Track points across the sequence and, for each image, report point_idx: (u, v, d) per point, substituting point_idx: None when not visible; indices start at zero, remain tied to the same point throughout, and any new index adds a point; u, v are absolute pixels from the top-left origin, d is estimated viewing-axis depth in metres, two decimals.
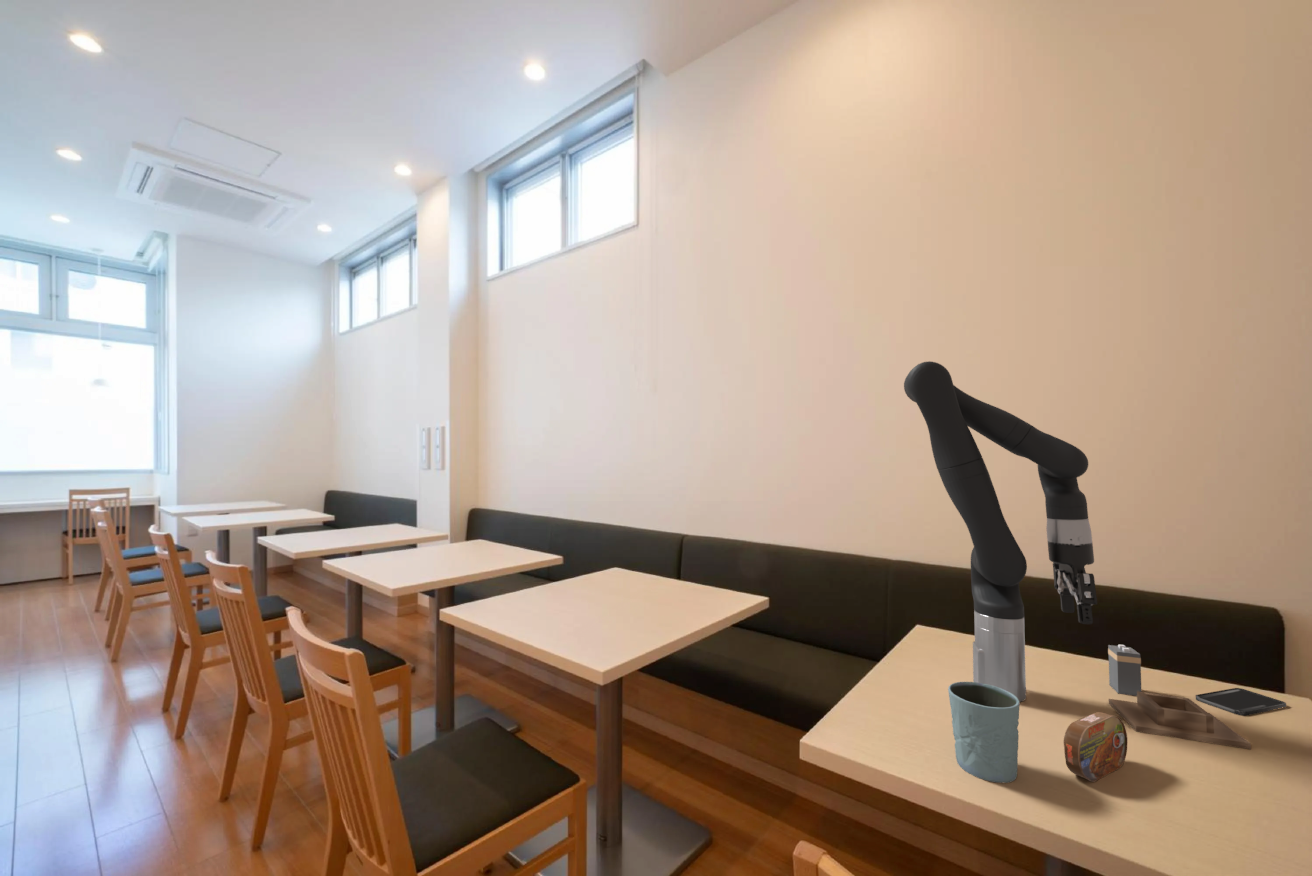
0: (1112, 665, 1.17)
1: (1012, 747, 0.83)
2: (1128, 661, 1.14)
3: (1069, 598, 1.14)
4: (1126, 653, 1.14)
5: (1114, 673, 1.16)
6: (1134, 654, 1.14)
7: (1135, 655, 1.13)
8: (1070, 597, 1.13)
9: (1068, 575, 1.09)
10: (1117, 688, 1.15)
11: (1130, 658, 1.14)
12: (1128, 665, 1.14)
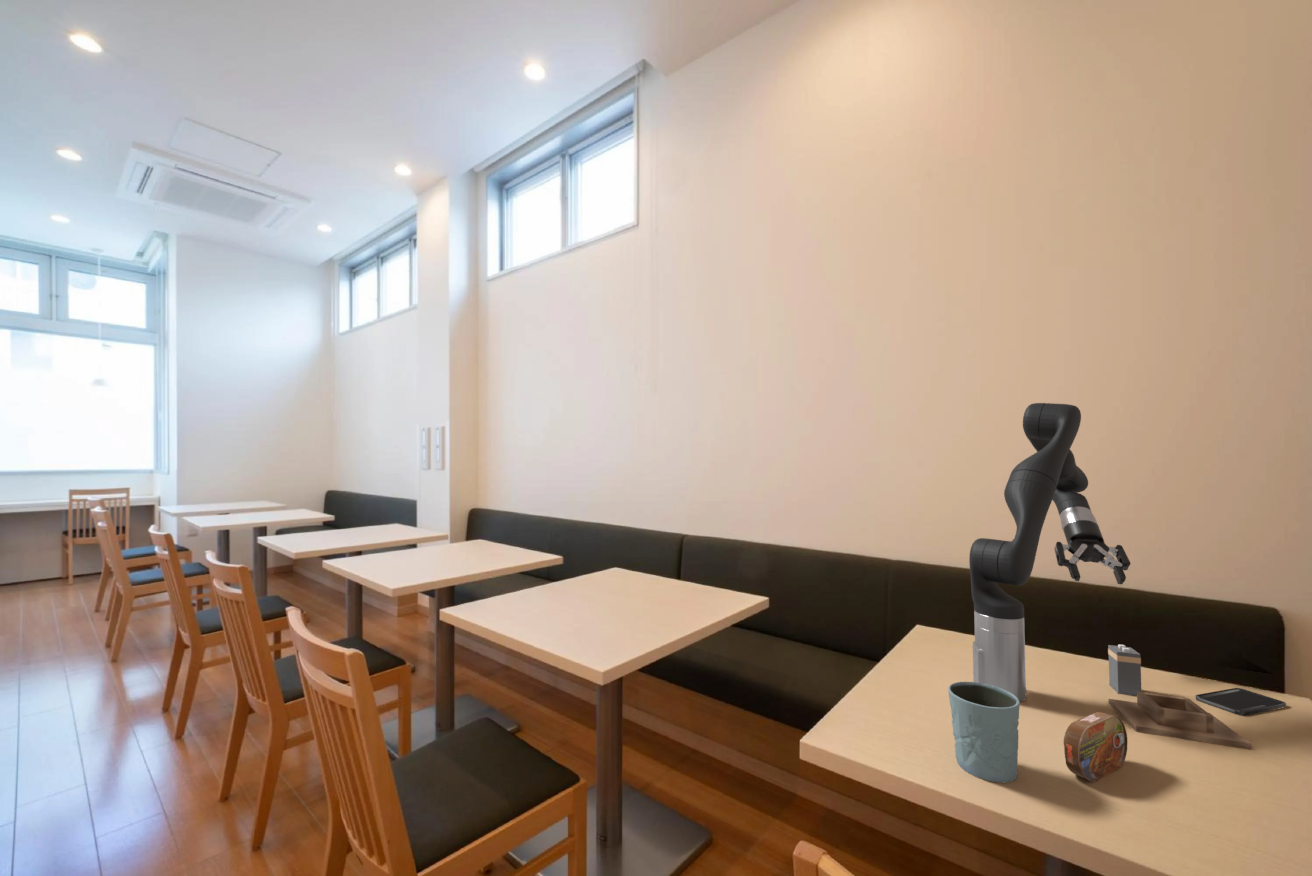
0: (1112, 665, 1.17)
1: (1012, 747, 0.83)
2: (1128, 661, 1.14)
3: None
4: (1126, 653, 1.14)
5: (1114, 673, 1.16)
6: (1134, 654, 1.14)
7: (1135, 655, 1.13)
8: None
9: None
10: (1117, 688, 1.15)
11: (1130, 658, 1.14)
12: (1128, 665, 1.14)
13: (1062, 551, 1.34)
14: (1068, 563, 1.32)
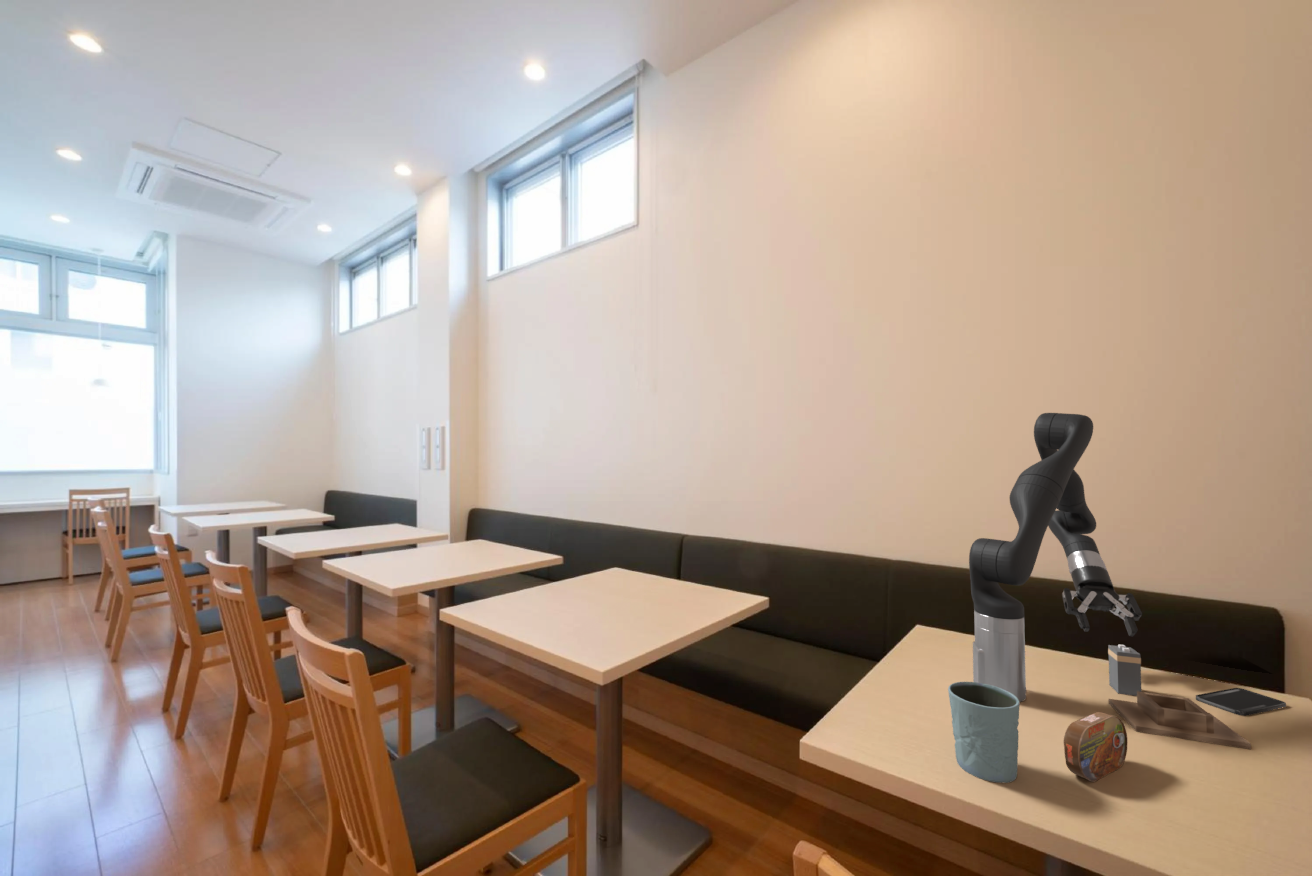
0: (1112, 665, 1.17)
1: (1012, 747, 0.83)
2: (1128, 661, 1.14)
3: None
4: (1126, 653, 1.14)
5: (1114, 673, 1.16)
6: (1134, 654, 1.13)
7: (1135, 655, 1.13)
8: None
9: None
10: (1117, 688, 1.15)
11: (1130, 658, 1.14)
12: (1128, 665, 1.14)
13: (1070, 598, 1.29)
14: (1077, 612, 1.27)
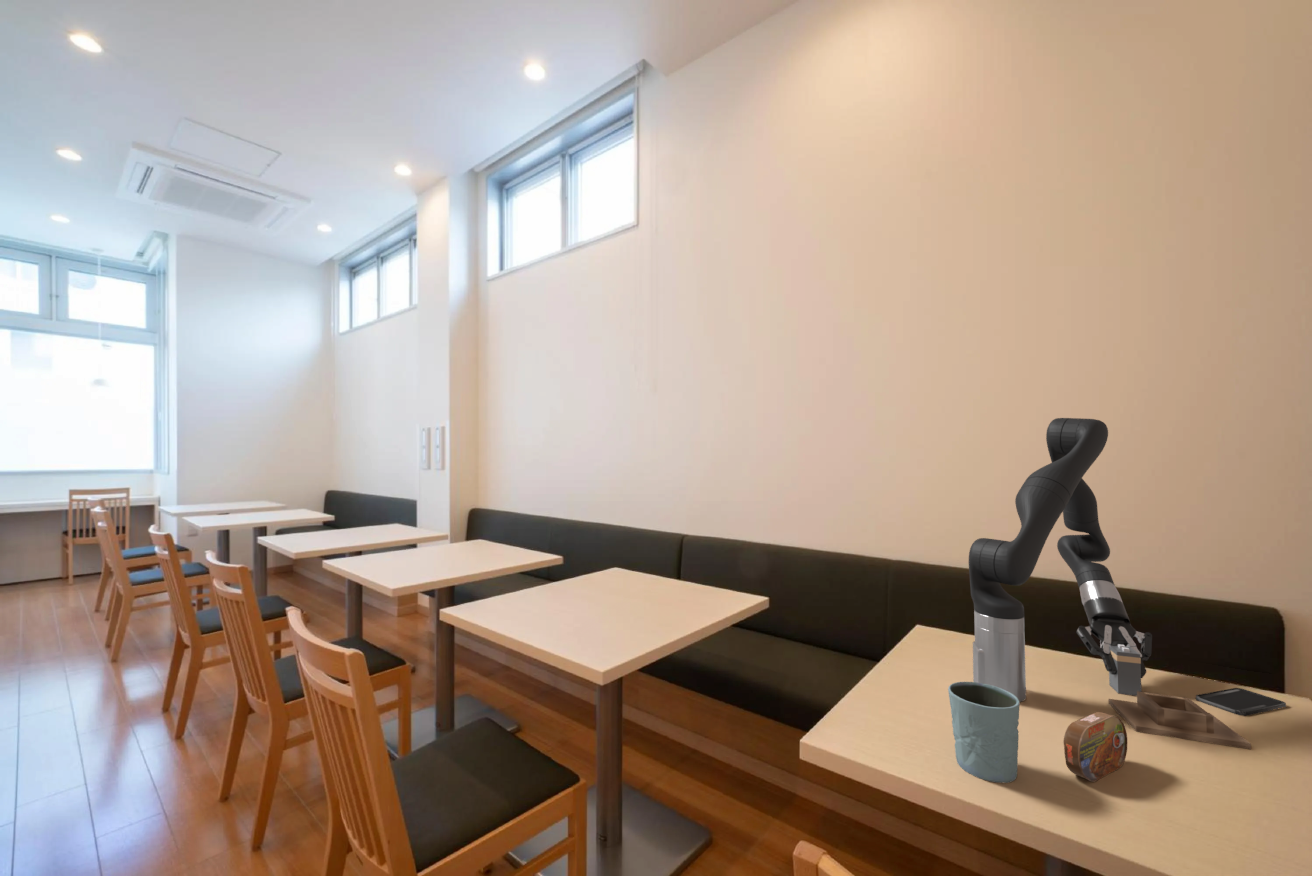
0: None
1: (1012, 747, 0.83)
2: (1128, 660, 1.14)
3: None
4: (1126, 653, 1.14)
5: None
6: (1134, 654, 1.14)
7: (1135, 655, 1.13)
8: None
9: None
10: (1117, 688, 1.15)
11: (1130, 658, 1.14)
12: (1128, 665, 1.14)
13: (1090, 637, 1.20)
14: (1104, 654, 1.18)
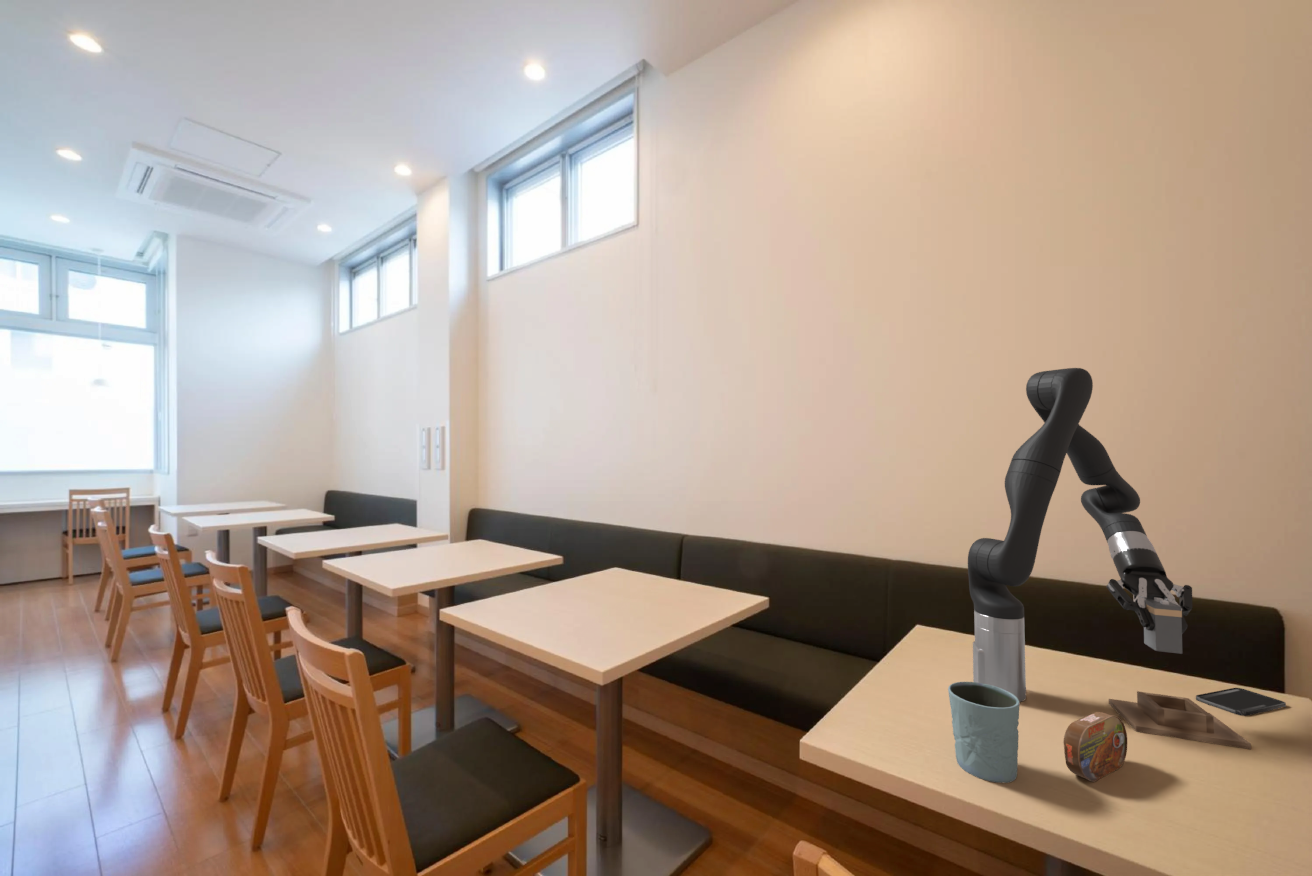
0: None
1: (1012, 747, 0.83)
2: (1168, 614, 1.02)
3: None
4: (1165, 606, 1.02)
5: None
6: (1174, 606, 1.02)
7: (1175, 608, 1.01)
8: None
9: None
10: (1154, 645, 1.03)
11: (1169, 611, 1.02)
12: (1167, 619, 1.02)
13: (1123, 591, 1.08)
14: (1139, 608, 1.06)
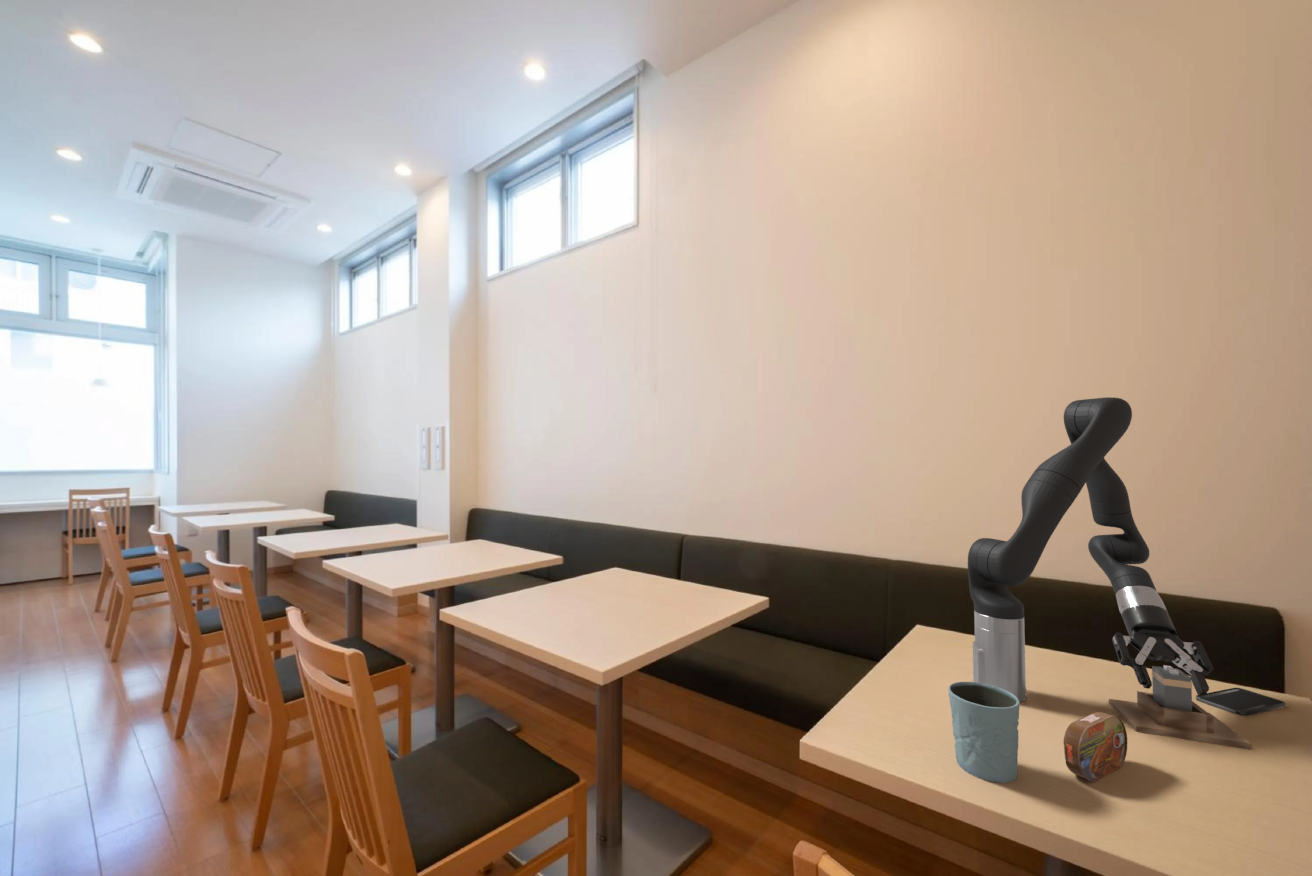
0: (1157, 689, 1.03)
1: (1012, 747, 0.83)
2: (1177, 685, 0.99)
3: None
4: (1174, 676, 1.00)
5: (1160, 698, 1.01)
6: (1184, 677, 0.99)
7: (1185, 678, 0.99)
8: None
9: None
10: None
11: (1179, 682, 0.99)
12: (1177, 690, 0.99)
13: (1124, 646, 1.07)
14: (1134, 664, 1.05)
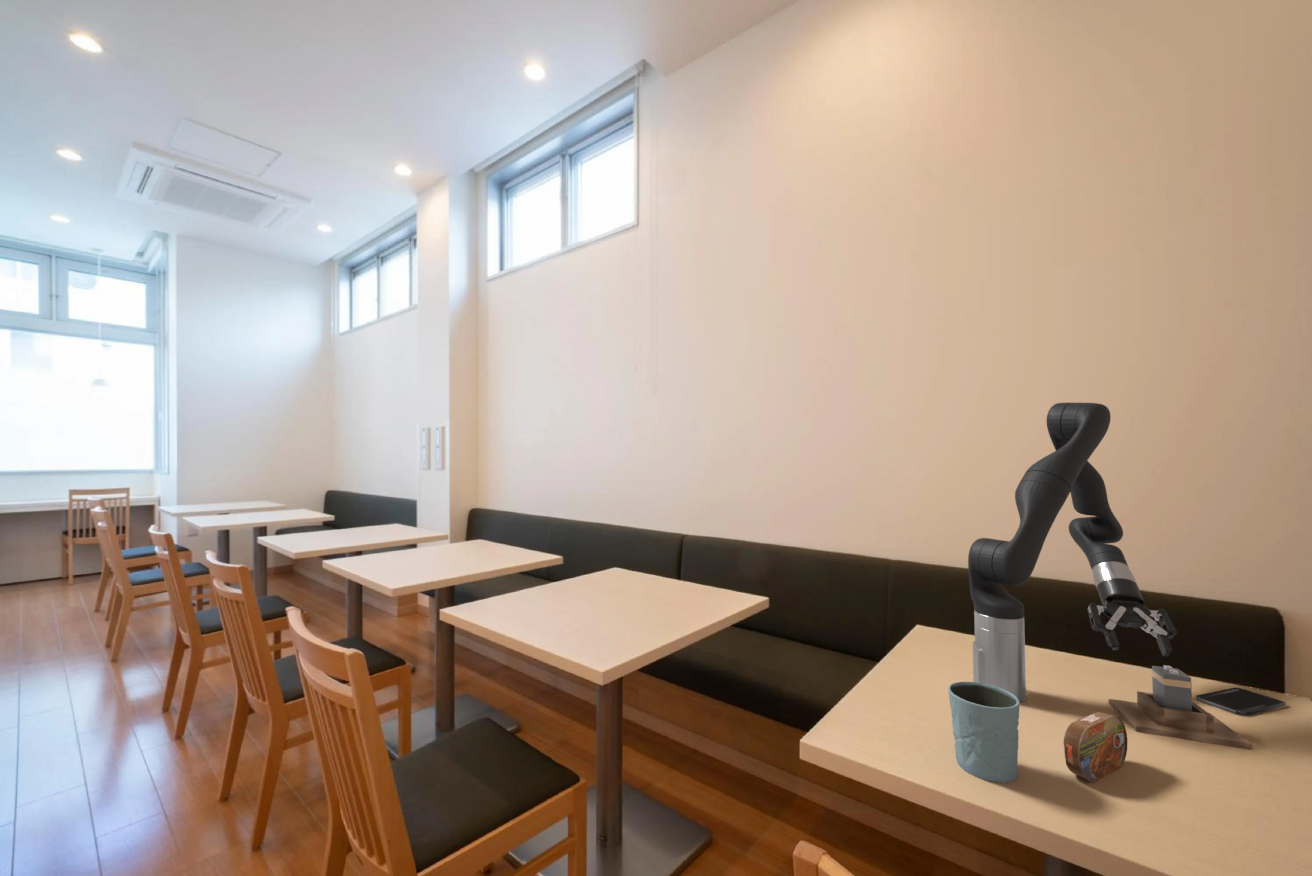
0: (1157, 689, 1.03)
1: (1012, 747, 0.83)
2: (1177, 685, 0.99)
3: None
4: (1174, 676, 1.00)
5: (1160, 698, 1.01)
6: (1184, 677, 0.99)
7: (1185, 678, 0.99)
8: None
9: None
10: None
11: (1179, 682, 0.99)
12: (1177, 690, 0.99)
13: (1097, 614, 1.19)
14: (1104, 629, 1.17)
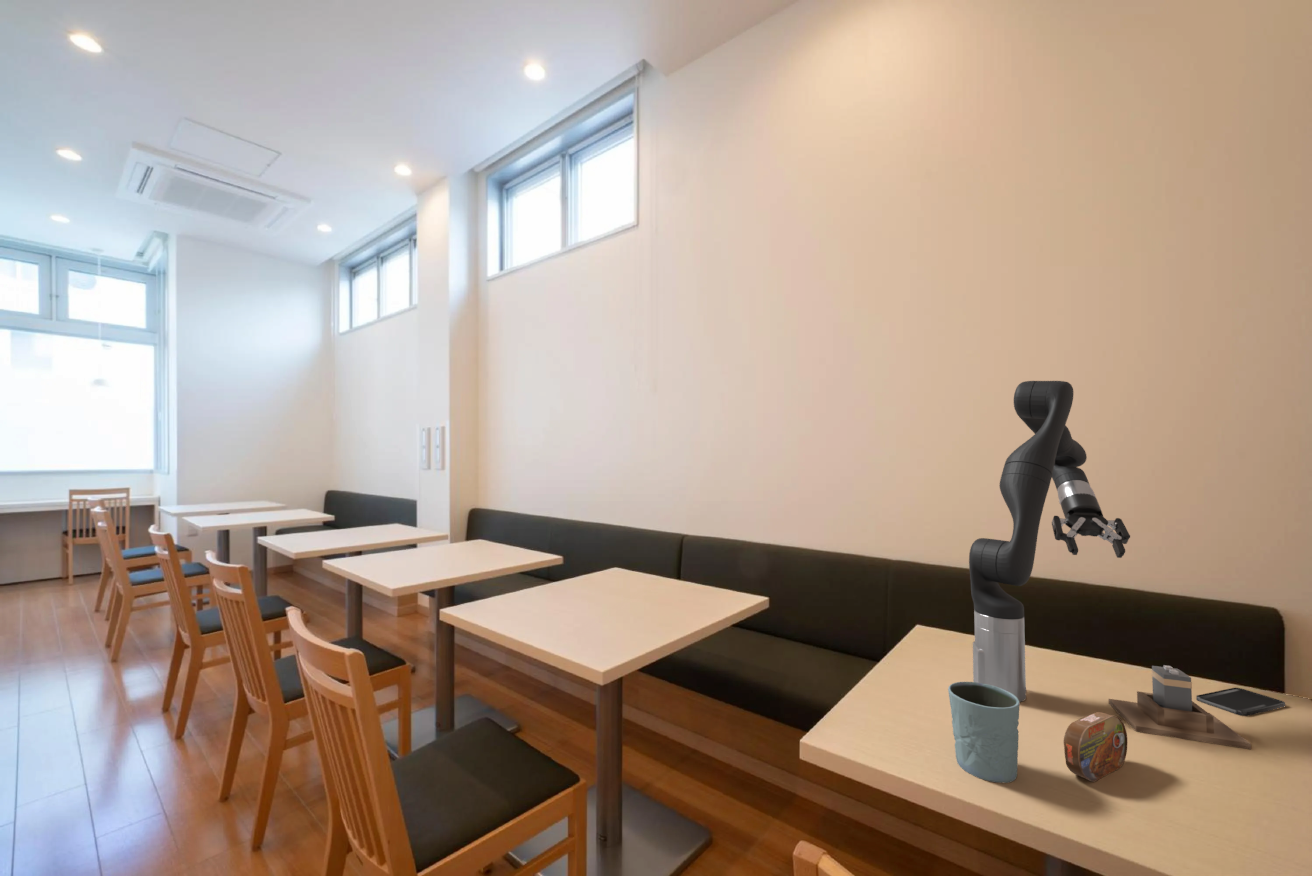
0: (1157, 689, 1.03)
1: (1012, 747, 0.83)
2: (1177, 685, 0.99)
3: None
4: (1174, 676, 1.00)
5: (1160, 698, 1.01)
6: (1184, 677, 0.99)
7: (1185, 678, 0.99)
8: None
9: None
10: None
11: (1179, 682, 0.99)
12: (1177, 690, 0.99)
13: (1059, 525, 1.30)
14: (1066, 537, 1.28)
